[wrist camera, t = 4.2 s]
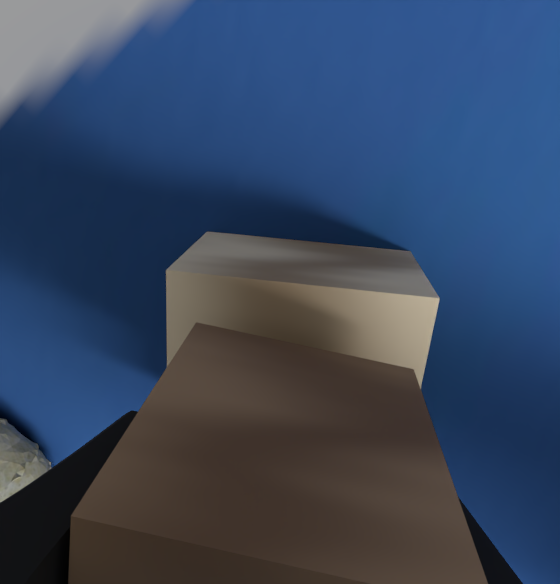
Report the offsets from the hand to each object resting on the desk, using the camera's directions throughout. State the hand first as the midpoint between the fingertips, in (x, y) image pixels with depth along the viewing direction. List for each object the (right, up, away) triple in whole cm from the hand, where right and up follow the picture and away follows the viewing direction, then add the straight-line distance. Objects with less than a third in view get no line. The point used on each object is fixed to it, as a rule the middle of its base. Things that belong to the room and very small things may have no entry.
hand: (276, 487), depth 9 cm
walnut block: (0, 0, +2) cm, 2 cm away
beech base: (+1, +2, +6) cm, 7 cm away
